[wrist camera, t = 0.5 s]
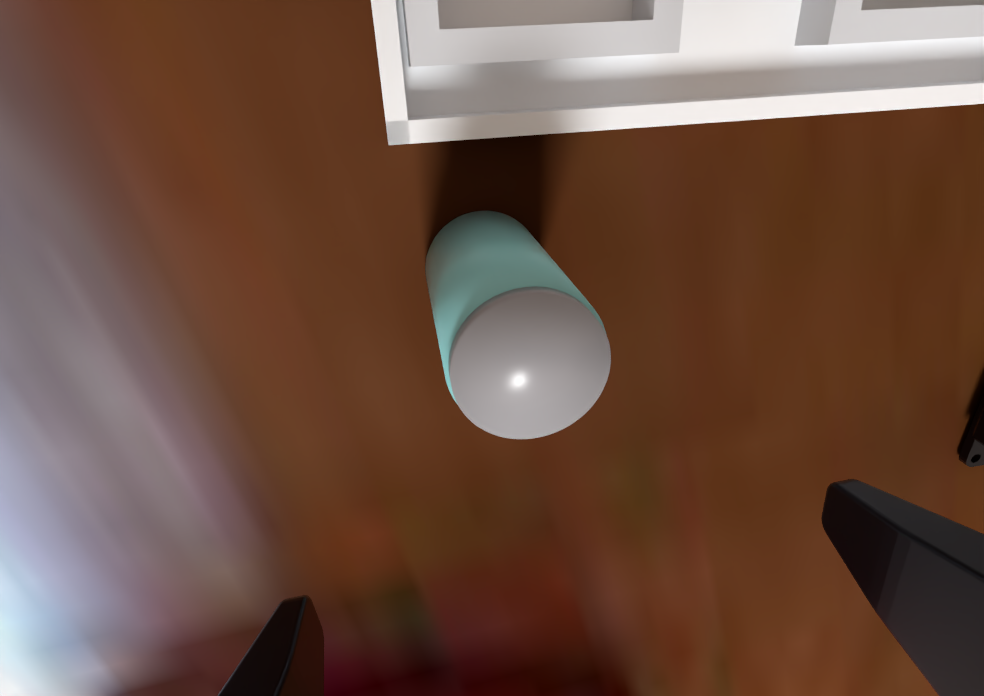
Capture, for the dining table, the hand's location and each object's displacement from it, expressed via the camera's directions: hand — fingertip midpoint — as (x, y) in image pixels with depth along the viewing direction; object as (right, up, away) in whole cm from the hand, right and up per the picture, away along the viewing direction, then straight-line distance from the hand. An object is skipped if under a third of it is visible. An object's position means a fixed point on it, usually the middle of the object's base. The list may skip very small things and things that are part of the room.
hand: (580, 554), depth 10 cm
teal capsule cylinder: (-2, +6, +10) cm, 12 cm away
